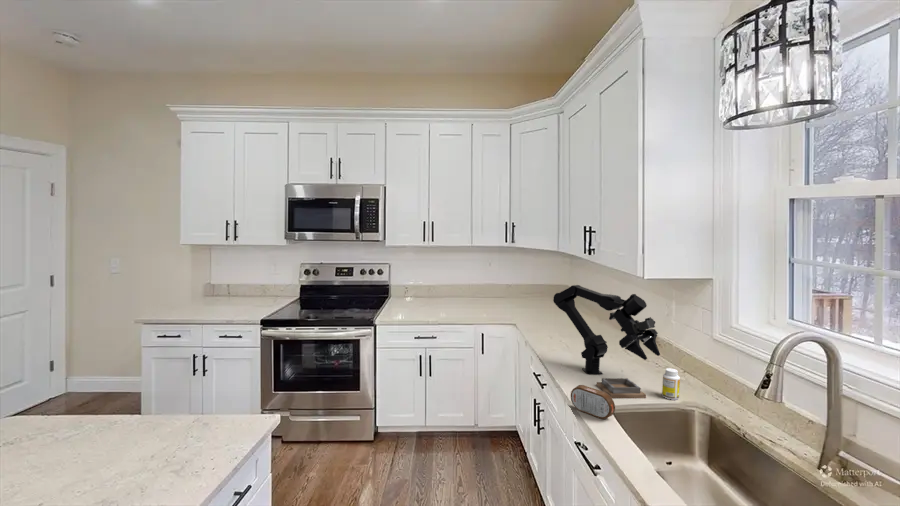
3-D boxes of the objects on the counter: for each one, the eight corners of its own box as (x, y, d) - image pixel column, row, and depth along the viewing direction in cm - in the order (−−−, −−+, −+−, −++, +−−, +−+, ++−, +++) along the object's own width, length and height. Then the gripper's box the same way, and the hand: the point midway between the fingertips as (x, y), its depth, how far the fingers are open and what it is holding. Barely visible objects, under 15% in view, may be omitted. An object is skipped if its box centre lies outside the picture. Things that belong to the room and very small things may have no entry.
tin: (615, 420, 141) (616, 394, 140) (610, 423, 139) (611, 397, 138) (573, 405, 152) (574, 381, 151) (568, 407, 150) (569, 383, 149)
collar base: (596, 385, 172) (596, 377, 172) (628, 385, 173) (629, 377, 173) (610, 398, 159) (611, 389, 159) (645, 398, 160) (646, 389, 160)
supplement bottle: (672, 394, 164) (674, 367, 164) (682, 400, 159) (683, 372, 158) (658, 394, 164) (660, 367, 163) (667, 400, 158) (669, 372, 158)
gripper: (627, 313, 164) (655, 349, 156) (654, 308, 175) (681, 342, 167) (608, 330, 171) (633, 365, 162) (634, 324, 182) (659, 357, 174)
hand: (652, 357), depth 166 cm, fingers open, 9 cm apart
